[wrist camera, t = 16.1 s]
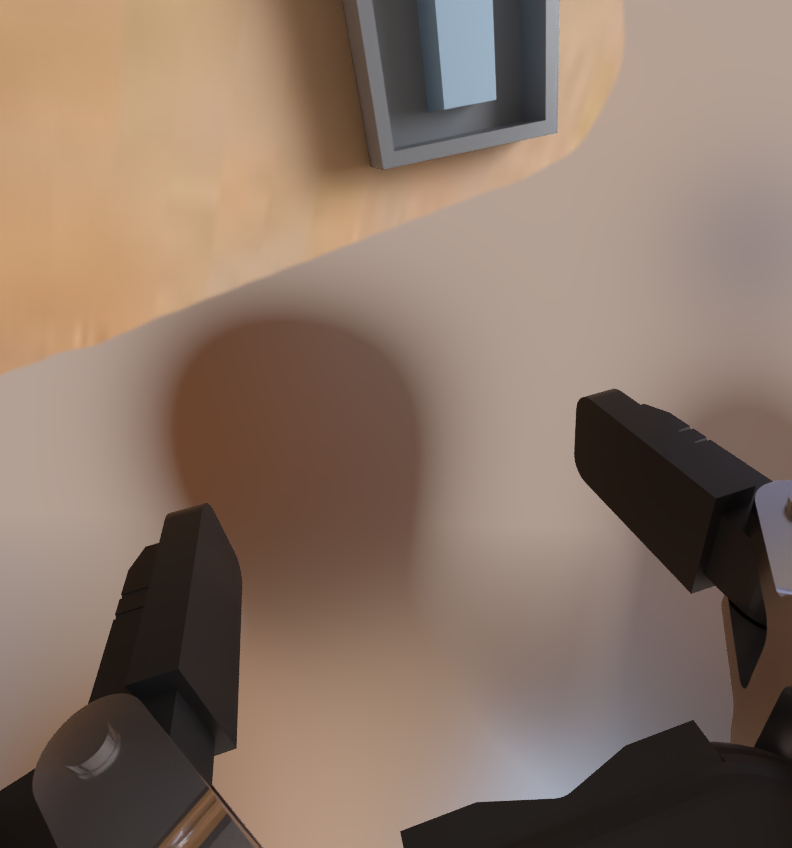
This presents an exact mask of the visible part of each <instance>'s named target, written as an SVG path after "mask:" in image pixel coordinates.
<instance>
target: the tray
mask: <svg viewBox="0 0 792 848" xmlns="http://www.w3.org/2000/svg"><path fill="white" fill-rule="evenodd" d="M342 1H343V7H344V13H345V19H346V25H347V31H348V36H349V42H350V48H351V54H352V60H353V66H354V71H355V77H356V83H357V89H358V95H359V101H360V106H361V112H362V118H363V124H364V130H365V136H366V141H367V147H368V153H369V159H370V165H371V167H375V168H379V169H383V170H384V169H388V168H393V167H398V166H403V165H407V164H412V163H417V162H421V161H426V160H431V159H436V158H440V157H445V156H450V155H455V154H459V153H464V152H469V151H474V150H478V149H483V148H488V147H493V146H497V145H502V144H507V143H512V142H516V141H521V140H526V139H530V138H535V137H540V136H545V135H549V134H554V133H558V65H559V0H493V22H494V49H495V75H496V100H492V101H487V102H482V103H476V104H471V105H466V106H461V107H455V108H450V109H445V110H439V111H432V112H428V107H427V97H426V87H425V78H424V68H423V58H422V49H421V39H420V29H419V19H418V10H417V0H342Z"/></svg>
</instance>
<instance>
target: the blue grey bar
mask: <svg viewBox="0 0 792 848" xmlns="http://www.w3.org/2000/svg"><path fill="white" fill-rule="evenodd" d="M417 10H418V19H419V29H420V39H421V49H422V58H423V68H424V78H425V87H426V97H427V107H428V112H432V111H439V110H445V109H450V108H455V107H461V106H466V105H471V104H476V103H482V102H487V101H492V100H496V75H495V49H494V22H493V0H417Z"/></svg>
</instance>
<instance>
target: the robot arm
mask: <svg viewBox="0 0 792 848" xmlns="http://www.w3.org/2000/svg"><path fill="white" fill-rule="evenodd" d="M574 455H575V456H574V457H575V463H576V466H577V469H578V471H579V474H580V475H581V477H582V479H583V480H584V481H585V482H586V483H587V485H588V486H589V487H590V488H591V489H592V490H593V491H594V492H595V493H596V494H597V495H598V496H599V497H600V498H601V499H602V500H603V501H604V503H606V505H607V506H608V507H609V508H610V509H611V510H612V511H613V512H614V513H615V514H616V515H617V516H618V517H619V518H620V519H621V520H622V521H623V522H624V524H625V525H626V526H627V527H628V528H629V529H630V530H631V531H632V532H633V533H634V534H635V535H636V536H637V537H638V538H639V539H640V540H641V541H642V542H643V543H644V544H645V545H646V547H647V548H648V549H649V550H650V551H651V552H652V553H653V554H654V555H655V556H656V557H657V558H658V559H659V560H660V561H661V562H662V563H663V565H665V567H666V568H667V569H668V570H669V571H670V572H671V573H672V574H673V575H674V576H675V577H676V578H677V579H678V580H679V581H680V582H681V583H682V584H683V586H684V587H685V588H686V589H687V590H688V591H689V592H690V593H691V594H692V593H695V592H698V591H700V590H704V589H706V588H710V587H712V586H717V588H718V589H719V590H720V591H721V592H723V594H724V596H723V599H722V603H721V609H722V616H723V624H724V632H725V640H726V647H727V655H728V663H729V670H730V679H731V685H732V695H733V717H732V724H731V736H730V743H724V742H709V740H708V739H707V738H706V736H705V735H704V734H703V732H702V731H701V730H700V728H699V727H698V726H697V724H696V723H695V722H694V721H693V720H692V721H689V722H687V723H684V724H681V725H679V726H676V727H674V728H671V729H668V730H666V731H663V732H661V733H658V734H655V735H652V736H650V737H647V738H645V739H642V740H639V741H637V742H634V743H631V744H629V745H626V746H625V747H623V748H622V749H621V750H620V751H619V752H618V753H616V754H615V755H614V756H613V757H612V758H611V759H609V760H608V761H607V762H606V763H605V764H604V765H603V766H601V767H600V768H599V769H598V770H596V771H595V772H594V773H593V774H592V775H591V776H589V777H588V778H587V779H586V780H585V781H584V782H583V783H581V784H580V785H579V786H578V787H577V788H576V789H574V790H573V791H572V792H571V793H569V794H568V795H566V796H564V797H561V798H556V799H538V800H517V801H495V802H476V803H474V804H471V805H468V806H466V807H463V808H460V809H458V810H455V811H453V812H450V813H447V814H445V815H442V816H440V817H437V818H434V819H432V820H429V821H426V822H424V823H421V824H418V825H416V826H413V827H411V828H408V829H405V830H403V831H401V837H402V842H403V847H404V848H792V480H780V481H774V482H773V481H771V480H770V479H768V478H767V477H765V476H764V475H762V474H761V473H759V472H758V471H756V470H755V469H753V468H752V467H750V466H749V465H747V464H746V463H744V462H743V461H741V460H740V459H738V458H737V457H735V456H734V455H732V454H731V453H729V452H728V451H726V450H725V449H723V448H722V447H720V446H719V445H717V444H716V443H714V442H713V441H711V440H709V441H708V440H707V439H706V437H705V436H704V435H702V434H701V433H699V432H698V431H696V430H694V429H690V427H689V425H687V424H686V423H684V422H683V421H681V420H680V419H678V418H677V417H675V416H674V415H672V414H671V413H669V412H666V411H663V410H660V409H657V408H655V407H652V406H649V405H646V404H642V405H640V404H638V403H637V402H636V401H634V400H633V399H631V398H630V397H629V396H627V395H626V394H624V393H623V392H621V391H620V390H617V389H612V390H608V391H604V392H601V393H597V394H593V395H590V396H587V397H583V398H581V399H580V400H579V401H578V403H577V409H576V428H575V452H574ZM121 595H122V599H120V600H119V603H118V607H117V610H116V613H115V615H116V619H115V620H113V623H112V627H111V630H110V634H109V637H108V640H107V644H106V647H105V650H104V653H103V657H102V660H101V663H100V668H99V670H98V673H97V677H96V680H95V683H94V687H93V690H92V693H91V697H90V700H89V703H88V705H86V706H84V707H83V708H81V709H80V710H79V711H77V712H76V713H75V714H74V715H72V716H71V717H70V718H69V719H68V720H67V721H66V722H65V723H64V724H63V725H62V726H61V727H60V728H59V729H58V730H57V732H56V733H55V734H54V735H53V737H52V738H51V739H50V741H49V742H48V744H47V745H46V747H45V749H44V750H43V752H42V754H41V756H40V758H39V760H38V762H37V765H36V768H35V769H33V770H32V771H31V772H29V773H28V774H26V775H24V776H23V777H21V778H20V779H18V780H17V781H15V782H13V783H12V784H10V785H9V786H7V787H6V788H4V789H2V790H1V791H0V848H263V847H262V846H261V844H260V843H259V842H258V841H257V839H256V838H255V837H254V836H253V834H252V833H251V832H250V831H249V830H248V828H247V827H246V826H245V824H244V823H243V822H242V821H241V819H240V818H239V817H238V816H237V815H236V813H235V812H234V811H233V810H232V808H231V807H230V806H229V805H228V803H227V802H226V801H225V800H224V798H223V797H222V796H221V795H220V793H219V792H218V791H217V790H216V789H215V787H214V786H213V785H212V776H213V763H214V756H215V755H219V754H221V753H224V752H227V751H230V750H233V749H236V744H237V716H238V714H237V713H238V687H239V660H240V631H241V604H242V603H241V602H242V577H241V570H240V566H239V563H238V559H237V557H236V554H235V552H234V550H233V548H232V546H231V544H230V542H229V540H228V538H227V536H226V534H225V532H224V530H223V528H222V526H221V524H220V522H219V520H218V518H217V516H216V514H215V513H214V510H213V508H212V507H211V506H210V505H209V504H208V503H204V504H200V505H197V506H193V507H190V508H186V509H183V510H179V511H176V512H172V513H169V514H168V515H167V516H166V518H165V521H164V525H163V529H162V534H161V538H160V542H159V543H157V544H154V545H150V546H147V547H145V548H144V550H143V551H142V552H141V554H140V555H139V557H138V558H137V559H136V561H135V562H134V563H133V565H132V566H131V568H130V569H129V570H128V573H127V577H126V580H125V584H124V587H123V590H122V594H121Z"/></svg>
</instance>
